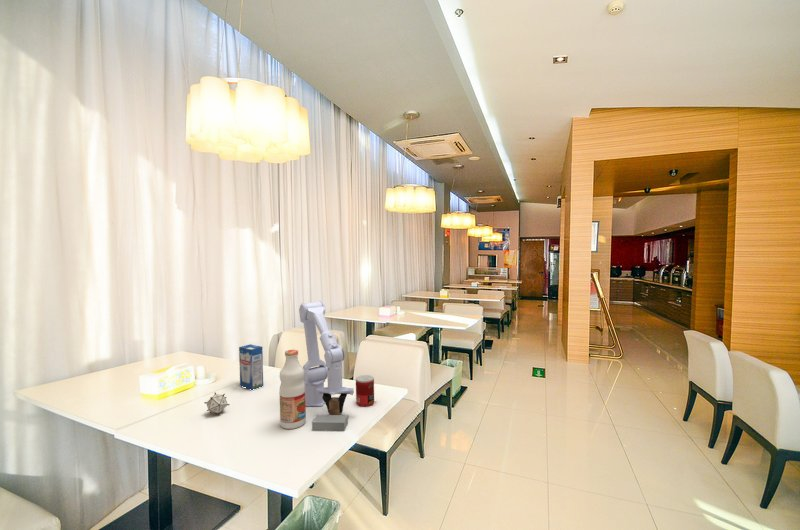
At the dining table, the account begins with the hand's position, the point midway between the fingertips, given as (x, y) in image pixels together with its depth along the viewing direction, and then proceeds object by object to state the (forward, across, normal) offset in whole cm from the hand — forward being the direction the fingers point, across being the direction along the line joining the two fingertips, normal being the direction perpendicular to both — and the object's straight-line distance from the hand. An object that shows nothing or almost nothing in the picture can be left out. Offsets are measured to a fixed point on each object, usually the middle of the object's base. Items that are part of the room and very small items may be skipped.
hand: (335, 411), depth 136 cm
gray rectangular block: (+2, 0, -8) cm, 8 cm away
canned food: (+2, +10, +13) cm, 16 cm away
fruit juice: (+2, -15, -6) cm, 16 cm away
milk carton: (+2, -50, +31) cm, 59 cm away
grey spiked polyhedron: (+2, -50, +2) cm, 50 cm away
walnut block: (+2, 0, 0) cm, 2 cm away
